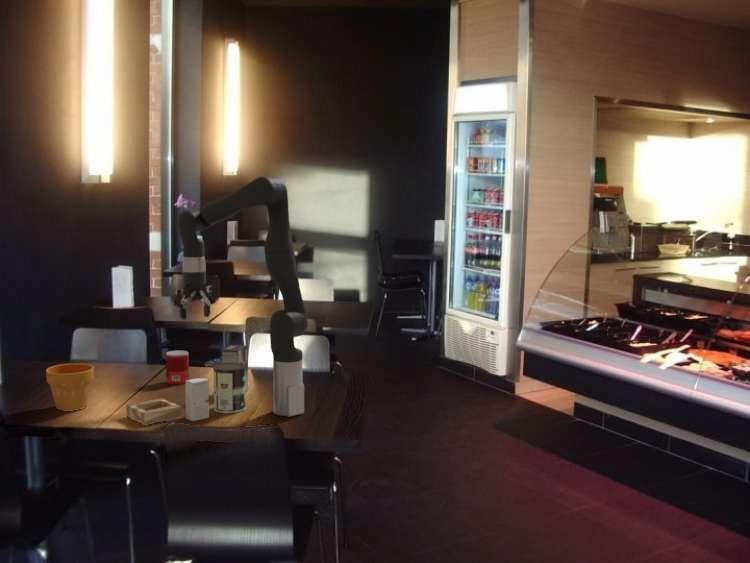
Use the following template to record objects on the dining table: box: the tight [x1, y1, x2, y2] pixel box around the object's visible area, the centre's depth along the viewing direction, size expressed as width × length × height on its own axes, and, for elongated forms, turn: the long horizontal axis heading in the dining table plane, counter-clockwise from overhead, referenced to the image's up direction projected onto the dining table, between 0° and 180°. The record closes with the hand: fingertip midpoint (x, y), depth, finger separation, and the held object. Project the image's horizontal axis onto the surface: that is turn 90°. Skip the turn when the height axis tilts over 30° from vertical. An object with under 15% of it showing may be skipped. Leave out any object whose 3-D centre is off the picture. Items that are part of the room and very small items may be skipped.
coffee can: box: [212, 362, 247, 414], centre depth 259 cm, size 10×10×14 cm
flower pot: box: [45, 362, 95, 410], centre depth 257 cm, size 14×14×13 cm
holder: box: [125, 397, 182, 424], centre depth 249 cm, size 12×12×4 cm
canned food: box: [165, 349, 190, 386], centre depth 291 cm, size 8×8×11 cm
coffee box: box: [220, 344, 249, 393], centre depth 278 cm, size 9×6×16 cm
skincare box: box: [185, 377, 210, 422], centre depth 249 cm, size 6×4×12 cm
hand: (195, 317), depth 272 cm, fingers open, 8 cm apart
